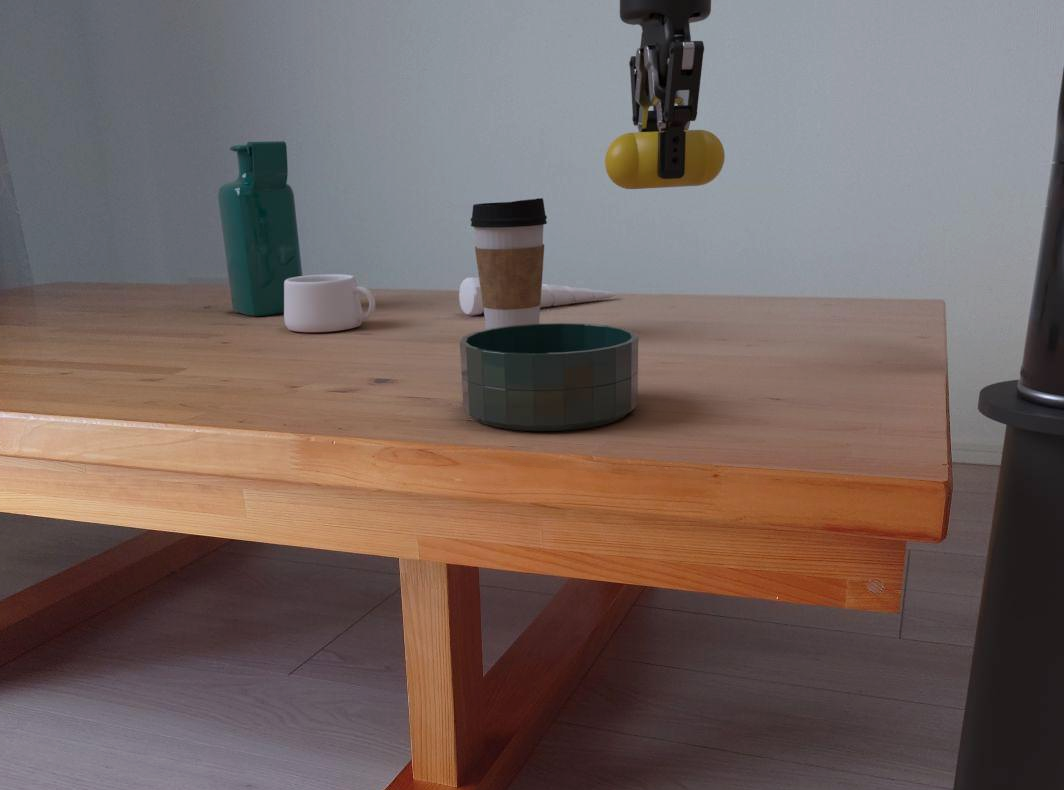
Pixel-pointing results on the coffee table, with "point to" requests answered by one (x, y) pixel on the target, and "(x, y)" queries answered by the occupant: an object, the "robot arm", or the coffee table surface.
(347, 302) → the mug
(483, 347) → the teal round dish
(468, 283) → the unicorn horn
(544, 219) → the coffee cup
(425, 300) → the coffee table surface
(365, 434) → the coffee table surface
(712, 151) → the capsule
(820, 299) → the coffee table surface
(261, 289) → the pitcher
